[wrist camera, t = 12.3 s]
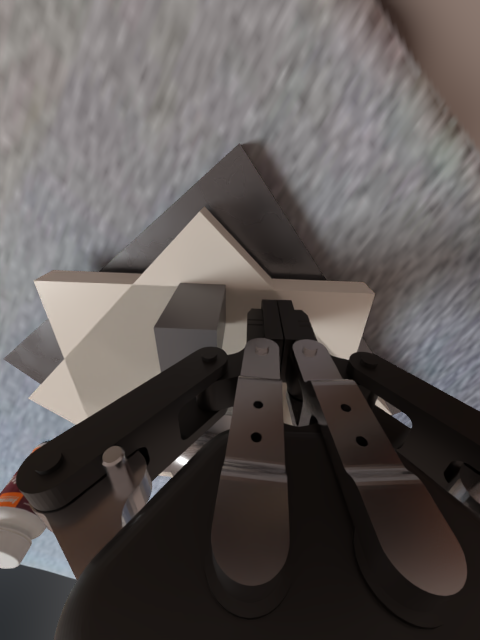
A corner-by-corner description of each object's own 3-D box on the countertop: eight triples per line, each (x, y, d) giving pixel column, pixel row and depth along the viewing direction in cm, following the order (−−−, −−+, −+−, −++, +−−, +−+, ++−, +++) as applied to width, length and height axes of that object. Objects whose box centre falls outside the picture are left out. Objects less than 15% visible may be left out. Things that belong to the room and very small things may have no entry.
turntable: (343, 489, 26) (366, 568, 21) (87, 476, 26) (48, 552, 21) (458, 215, 13) (592, 248, 8) (-43, 197, 14) (-224, 218, 8)
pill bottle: (55, 434, 26) (-22, 540, 18) (92, 459, 28) (37, 564, 20) (25, 449, 27) (-56, 553, 20) (63, 472, 29) (2, 574, 22)
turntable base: (401, 399, 22) (407, 409, 21) (201, 481, 29) (200, 491, 28) (240, 144, 13) (239, 143, 12) (13, 350, 20) (3, 358, 20)
